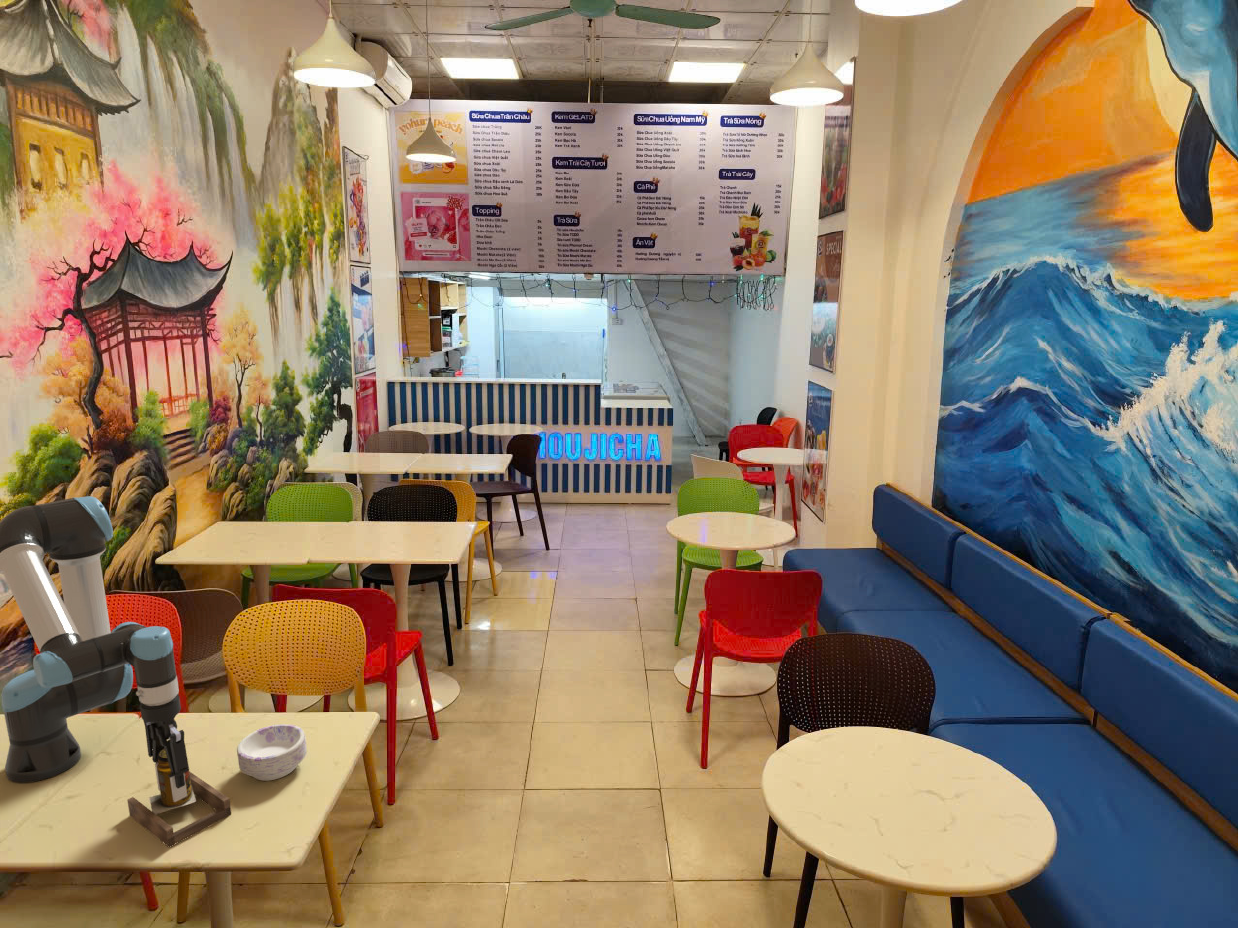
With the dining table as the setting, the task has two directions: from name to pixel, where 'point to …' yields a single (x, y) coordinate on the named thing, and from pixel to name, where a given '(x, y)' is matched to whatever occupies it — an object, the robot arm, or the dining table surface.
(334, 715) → the dining table surface
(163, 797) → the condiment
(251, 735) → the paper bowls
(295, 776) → the dining table surface
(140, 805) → the walnut shelf lane
